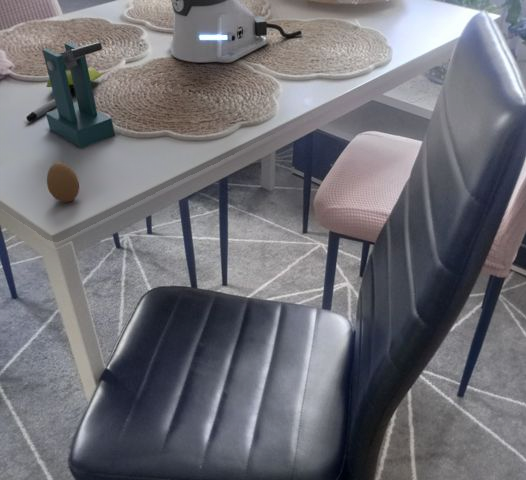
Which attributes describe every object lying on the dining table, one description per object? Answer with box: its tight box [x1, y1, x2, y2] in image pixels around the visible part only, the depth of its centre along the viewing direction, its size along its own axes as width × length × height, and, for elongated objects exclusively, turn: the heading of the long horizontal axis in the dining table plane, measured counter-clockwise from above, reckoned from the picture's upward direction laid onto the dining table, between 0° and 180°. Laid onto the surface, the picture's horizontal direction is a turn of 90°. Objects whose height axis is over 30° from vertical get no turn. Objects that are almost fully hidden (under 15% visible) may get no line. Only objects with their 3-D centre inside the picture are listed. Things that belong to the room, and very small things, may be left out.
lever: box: [58, 41, 103, 70], centre depth 94 cm, size 10×5×2 cm, turn 44°
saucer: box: [46, 66, 102, 88], centre depth 118 cm, size 9×9×2 cm
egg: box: [46, 161, 80, 203], centre depth 87 cm, size 4×4×6 cm
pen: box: [26, 86, 76, 122], centre depth 113 cm, size 1×16×1 cm, turn 157°
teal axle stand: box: [42, 41, 116, 149], centre depth 100 cm, size 10×7×14 cm
